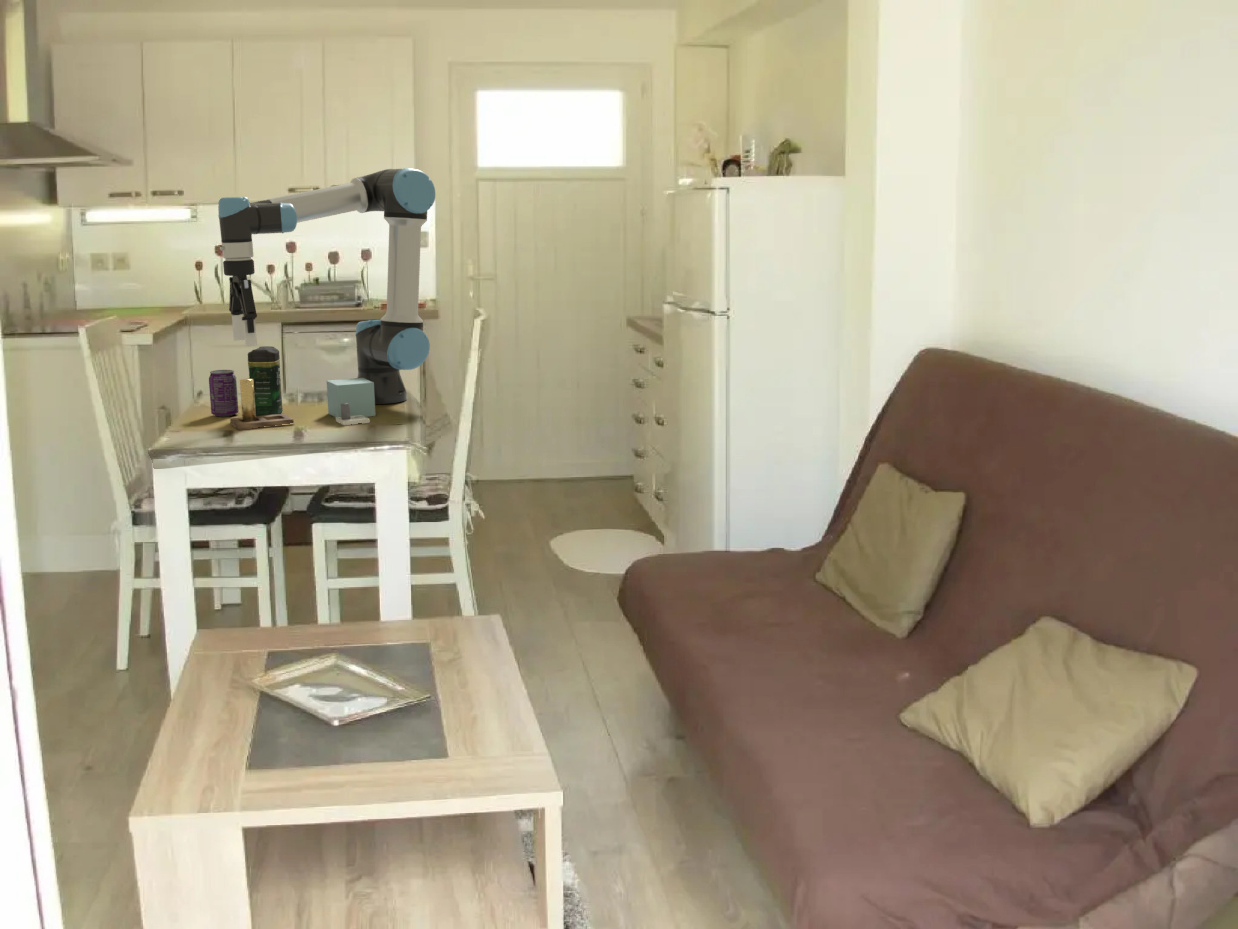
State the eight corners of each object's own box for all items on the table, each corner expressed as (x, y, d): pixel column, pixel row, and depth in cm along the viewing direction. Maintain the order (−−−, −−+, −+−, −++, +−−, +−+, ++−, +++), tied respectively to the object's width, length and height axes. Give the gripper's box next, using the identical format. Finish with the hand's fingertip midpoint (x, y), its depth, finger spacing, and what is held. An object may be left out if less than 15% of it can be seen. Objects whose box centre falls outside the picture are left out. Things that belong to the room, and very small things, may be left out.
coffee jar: (278, 418, 366) (273, 348, 362) (248, 418, 366) (243, 349, 362) (286, 412, 376) (282, 344, 372) (257, 412, 376) (252, 344, 372)
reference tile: (361, 418, 364) (360, 400, 363) (369, 422, 358) (368, 403, 357) (335, 421, 361) (334, 402, 360) (343, 425, 355) (342, 406, 354)
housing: (364, 410, 377) (362, 377, 375) (375, 415, 368) (373, 382, 366) (328, 413, 372) (326, 380, 370) (338, 419, 364) (337, 385, 362)
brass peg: (254, 423, 358) (251, 378, 356) (258, 425, 355) (254, 379, 353) (241, 425, 357) (238, 379, 354) (244, 427, 354) (241, 380, 351)
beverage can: (228, 412, 376) (225, 368, 374) (244, 414, 372) (241, 370, 370) (206, 415, 371) (202, 371, 369) (221, 418, 367) (218, 373, 364)
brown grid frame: (284, 418, 365) (283, 413, 365) (293, 424, 356) (293, 419, 356) (230, 423, 359) (230, 418, 358) (239, 429, 350) (238, 424, 350)
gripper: (213, 257, 356) (220, 339, 361) (233, 262, 335) (241, 349, 339) (242, 255, 360) (249, 336, 364) (264, 260, 338) (271, 346, 343)
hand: (245, 343), depth 352 cm, fingers open, 13 cm apart
